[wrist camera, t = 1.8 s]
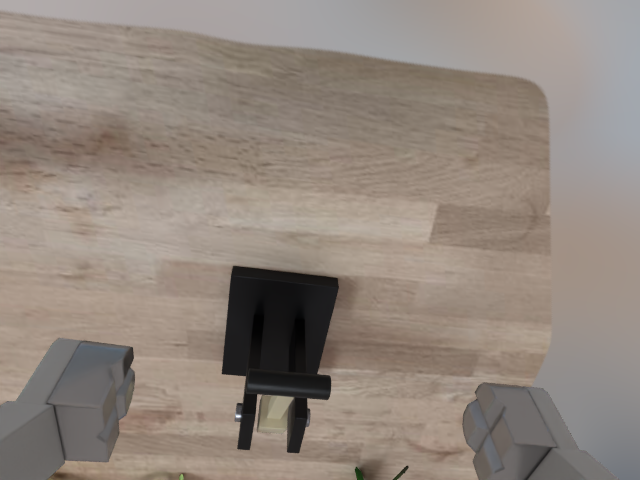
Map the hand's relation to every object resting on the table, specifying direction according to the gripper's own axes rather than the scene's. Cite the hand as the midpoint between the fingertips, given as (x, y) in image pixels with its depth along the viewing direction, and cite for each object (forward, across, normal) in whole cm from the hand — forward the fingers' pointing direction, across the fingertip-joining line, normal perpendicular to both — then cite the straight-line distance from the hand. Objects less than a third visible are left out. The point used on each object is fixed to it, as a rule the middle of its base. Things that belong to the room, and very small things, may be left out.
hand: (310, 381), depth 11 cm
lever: (+15, -1, +18) cm, 24 cm away
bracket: (+27, -1, +24) cm, 36 cm away
